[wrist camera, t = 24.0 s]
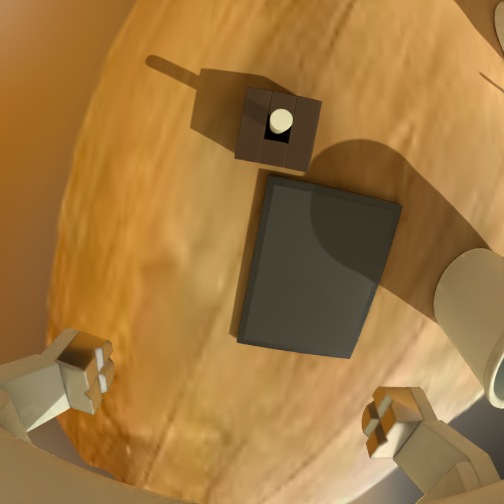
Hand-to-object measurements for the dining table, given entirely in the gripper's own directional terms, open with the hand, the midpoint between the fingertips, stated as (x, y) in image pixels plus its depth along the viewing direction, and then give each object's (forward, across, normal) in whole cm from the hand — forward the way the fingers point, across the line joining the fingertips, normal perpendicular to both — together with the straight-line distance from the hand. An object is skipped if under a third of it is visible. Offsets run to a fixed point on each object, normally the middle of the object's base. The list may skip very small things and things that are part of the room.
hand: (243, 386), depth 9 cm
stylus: (+29, 0, -8) cm, 30 cm away
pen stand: (+29, 0, -8) cm, 30 cm away
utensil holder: (+29, -32, +6) cm, 44 cm away
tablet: (+29, -8, +8) cm, 31 cm away
